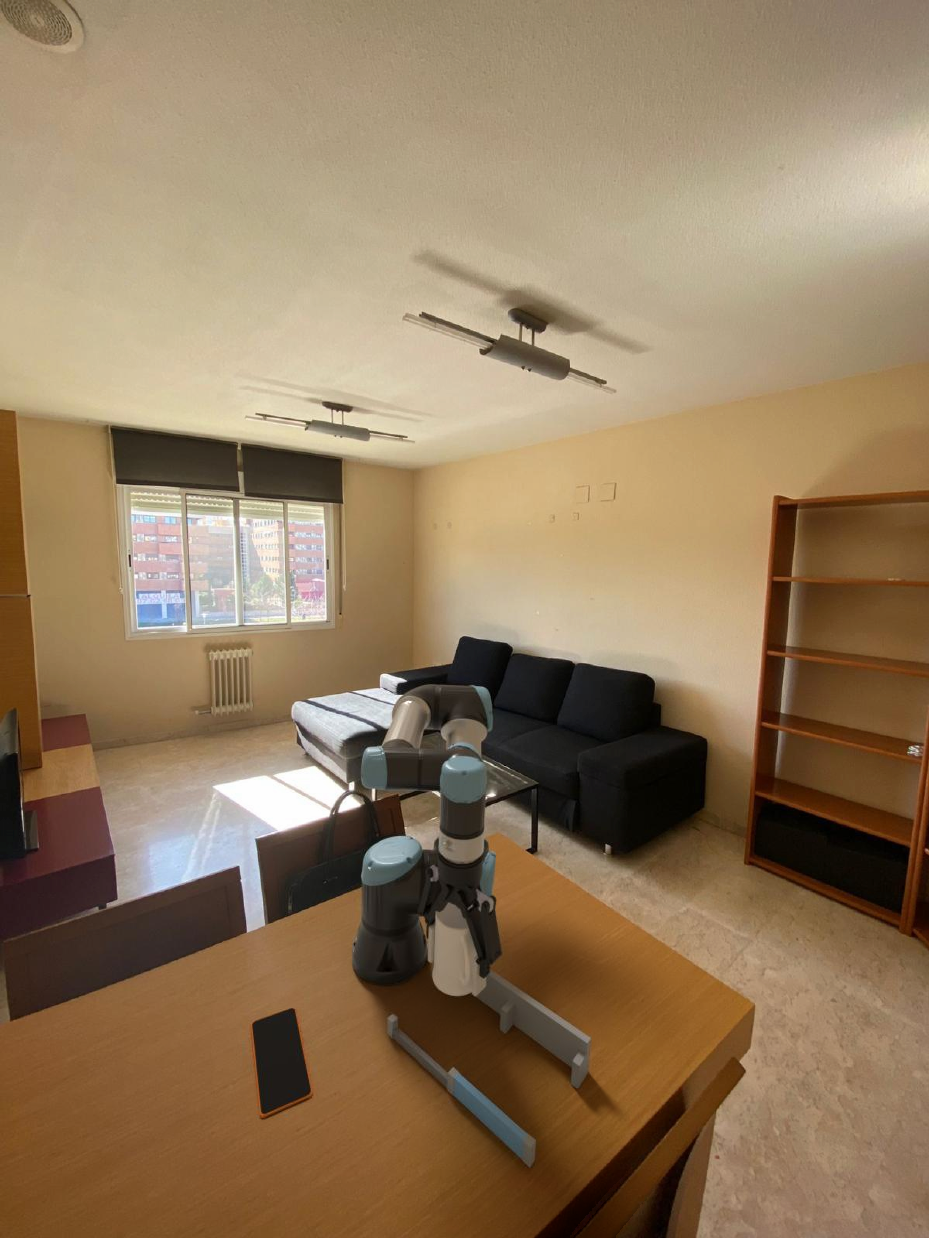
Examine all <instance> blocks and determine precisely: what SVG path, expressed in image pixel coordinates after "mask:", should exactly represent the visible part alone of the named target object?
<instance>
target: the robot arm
mask: <svg viewBox="0 0 929 1238" xmlns="http://www.w3.org/2000/svg"><path fill="white" fill-rule="evenodd" d="M493 721H494V715H493V704H492V699H491V694H490V692H489V690H488V688H486V687H484V686H480V685H479V686H476V685H474V684H471V685H452V684H424V685H420V686H418V687H415V688H413V689H411V690H409V691H406V692H405V693H404V694H403V695H401V696H400V697H399V698H398V699H397V701H395V704H394V705H393V707H392V711H391V723H390V725H389V727H388V730H387V731H386V735H385V737H384V740H382V741H383V742H382V744H381V745H377V746H368V747H366V748H365V750H364V751H363V755H362V759H361V767H360V780H361V784H362V786H363V787H364V788H365V789H370V790H371V789H372V790H380V791H382V792H383V791H413V792H414V791H418V792H419V791H420V792H439V794H440V795H439V796H440V797H439V825H438V826H439V830H438V831H439V832H438V836H437V837H436V838H435V839H434V840H433V849H426V848H423V846H422V844H421V842H420V841H419V840H417V839H416V838H413V837H412V836H407V835H398V836H390V837H387V838H384V839H382V840H380V841H378V842H376V843H375V844H373V845H372V846H370V848H369V849H368V850H367V851H366V853H365V855H364V857H363V860H362V868H361V870H362V871H361V875H360V878H361V921H360V923H359V927H358V929H357V933H356V936H355V938H354V940H353V944H352V948H351V963H352V968H353V970H354V971H355V973H356V974H357V975H358V977H360V978H361V979H362V980H364V981H366V982H368V983H370V984H374V985H378V986H394V985H399V984H402V983H405V982H407V981H409V980H411V979H412V978H414V977H415V976H416V975H418V974H419V973H420V971H421V970H422V968H423V967H424V966H425V964H426V961H427V962H429V963H430V964H431V963H434V951H435V919H436V911H437V912H441V911H443V910H444V908H445V907H446V905H447V904H448V902H449V903H451V904H454V905H456V906H457V907H458V908H459V909H460V910H461V913H462V916H463V918H465V919H466V921H467V924H468V927H469V931H470V934H471V937H472V940H473V943H474V946H475V950H476V953H477V956H476V957H475V958H474V964H473V987H472V993H471V995H473V996H474V998H477V997H476V996H477V995H478V994H479V993H480V992H481V991H482V990H483V989H484V988H485V987H486V976H487V975H488V974H489V973H490V970H491V965H493V964H494V963H495V962H497V960H498V959H499V958H500V957H501V956H502V954H503V952H502V945H501V938H500V934H499V925H498V921H497V913H496V909H497V908H496V905H497V897H496V896H495V895H493V890H494V884H495V883H494V882H495V876H496V875H495V873H496V863H497V858H496V856H497V853H496V852H495V851H493V850H490V849H489V848H490V845H489V840H487V838H486V837H485V817H486V816H485V815H486V799H487V790H488V777H487V774H488V773H487V767H486V764H485V763H484V762H483V759H482V742H484V740H485V739H486V738H487V737H488V736H487V735H488V732H491V731H492V730H493V727H494V726H493V725H494V722H493ZM425 730H435V731H440V734H441V737H442V738H443V740H444V741H446V742H445V745H446V746H445V748H423V747H421V744H422V740H423V734H424V731H425ZM472 904H473V906H472V907H471V908H470V909H469V910H468V908H469V907H470V906H471V905H472ZM480 911H481V912H480ZM421 917H422V918H424V922H425V924H426V926H425V927H426V930H425V931H426V932H425V931H424V927H423V925H422V921H421Z"/></svg>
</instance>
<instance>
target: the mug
mask: <svg viewBox="0 0 929 1238" xmlns="http://www.w3.org/2000/svg"><path fill="white" fill-rule="evenodd" d="M472 906H473V904H472V905H471V906H470V907H469V908H468V910H469V909H470V908H471V907H472ZM480 912H481V911H480ZM476 956H477V953H476V950H475V946H474V943H473V940H472V937H471V934H470V931H469V927H468V924H467V921H466V919H465V918H463V916H462V913H461V910H460V909H459V908H458V907H457V906H456V905H454V904H451V903H449V902H448V904H447V905H446V907H445V908H444V910H443V911H441V912H437V911H436V919H435V951H434V961H433V969H432V974H431V976H432V981H433V984H434V985H435V987H436V988H437V989H438V990H439V991H441V992H442V993H444V994H446V995H449V996H452V997H453V996H454V997H462V996H467V995H469V994H472V993H471V992H472V987H473V964H474V958H475V957H476Z"/></svg>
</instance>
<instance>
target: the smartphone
mask: <svg viewBox="0 0 929 1238" xmlns="http://www.w3.org/2000/svg"><path fill="white" fill-rule="evenodd" d="M250 1034H251V1044H252V1053H253V1062H254V1063H253V1065H254V1073H255V1083H256V1084H255V1085H256V1093H257V1104H258V1113H259V1118H260V1119H265V1118H268V1117H271V1116H272V1115H275V1114H277V1113H280V1112H282V1111H284V1110H285V1109H287V1108H290V1107H293V1106H295V1105H298V1104H300V1103H302V1102H304V1101H307V1100H309V1099H310V1098H312V1096H313V1094H314V1092H313V1087H312V1086H313V1085H312V1081H311V1076H310V1073H309V1068H308V1062H307V1057H306V1052H305V1048H304V1041H303V1039H304V1038H303V1035H302V1030H301V1025H300V1019H299V1017H298V1014H297V1008H296V1007H293V1006H291V1007H289V1008H286V1009H283V1010H281V1011H278V1012H275V1013H273V1014H270V1015H267V1016H264V1017H261V1018H259V1019H255V1020H254V1021H252V1022H251V1023H250Z"/></svg>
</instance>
